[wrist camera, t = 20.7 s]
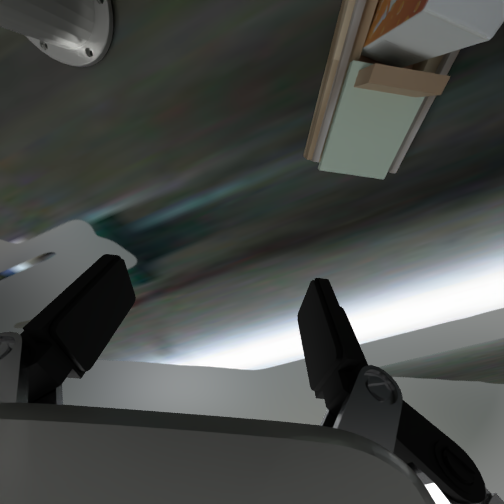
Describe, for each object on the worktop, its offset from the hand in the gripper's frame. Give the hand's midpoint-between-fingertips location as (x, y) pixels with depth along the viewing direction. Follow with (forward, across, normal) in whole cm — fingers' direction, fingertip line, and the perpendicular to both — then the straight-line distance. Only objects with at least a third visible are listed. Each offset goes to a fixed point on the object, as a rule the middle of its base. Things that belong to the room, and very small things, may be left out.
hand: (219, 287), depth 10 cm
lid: (+25, -16, -8) cm, 31 cm away
